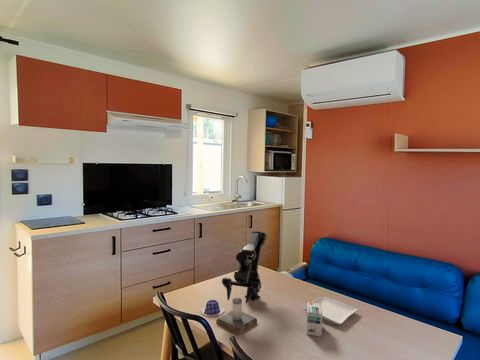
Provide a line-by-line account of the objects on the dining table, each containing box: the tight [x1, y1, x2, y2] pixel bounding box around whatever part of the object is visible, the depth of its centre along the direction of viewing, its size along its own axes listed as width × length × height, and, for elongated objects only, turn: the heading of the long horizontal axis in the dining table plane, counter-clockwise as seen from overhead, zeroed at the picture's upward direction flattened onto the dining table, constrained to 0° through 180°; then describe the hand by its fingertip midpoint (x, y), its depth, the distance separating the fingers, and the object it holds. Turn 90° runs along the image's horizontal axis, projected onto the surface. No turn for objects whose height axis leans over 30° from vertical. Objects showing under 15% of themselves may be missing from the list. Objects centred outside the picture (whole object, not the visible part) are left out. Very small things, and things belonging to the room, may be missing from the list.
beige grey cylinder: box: [231, 297, 243, 321], centre depth 149 cm, size 4×4×9 cm
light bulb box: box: [306, 301, 323, 337], centre depth 145 cm, size 11×7×11 cm, turn 168°
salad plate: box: [302, 295, 359, 326], centre depth 161 cm, size 21×21×3 cm
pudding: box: [200, 299, 225, 317], centre depth 160 cm, size 12×12×5 cm
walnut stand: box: [215, 310, 258, 336], centre depth 149 cm, size 14×14×2 cm
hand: (237, 301), depth 148 cm, fingers open, 9 cm apart
